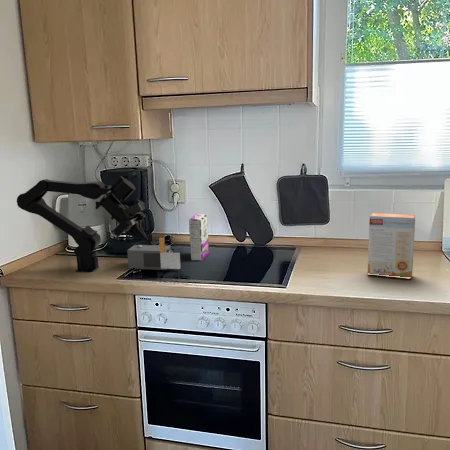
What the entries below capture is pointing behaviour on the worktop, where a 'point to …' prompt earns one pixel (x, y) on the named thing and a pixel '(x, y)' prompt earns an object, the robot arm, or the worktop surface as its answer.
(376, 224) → the cracker box
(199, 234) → the candy bar box
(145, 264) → the grey box with panel
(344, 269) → the worktop surface
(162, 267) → the side door
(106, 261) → the worktop surface
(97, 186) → the robot arm
